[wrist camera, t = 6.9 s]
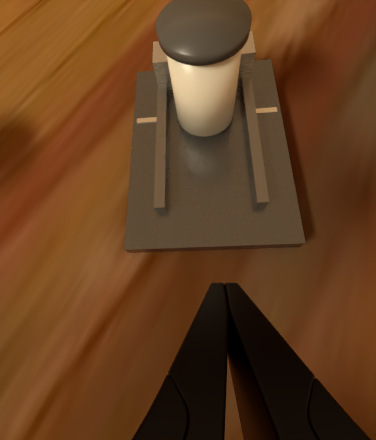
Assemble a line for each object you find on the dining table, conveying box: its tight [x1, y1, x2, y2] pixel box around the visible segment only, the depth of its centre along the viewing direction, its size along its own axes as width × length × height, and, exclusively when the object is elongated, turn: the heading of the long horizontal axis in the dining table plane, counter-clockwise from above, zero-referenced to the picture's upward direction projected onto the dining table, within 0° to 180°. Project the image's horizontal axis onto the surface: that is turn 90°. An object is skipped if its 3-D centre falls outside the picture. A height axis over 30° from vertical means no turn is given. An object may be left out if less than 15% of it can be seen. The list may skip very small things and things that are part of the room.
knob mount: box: [124, 31, 306, 253], centre depth 23 cm, size 22×16×6 cm
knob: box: [156, 0, 252, 137], centre depth 20 cm, size 7×7×9 cm
